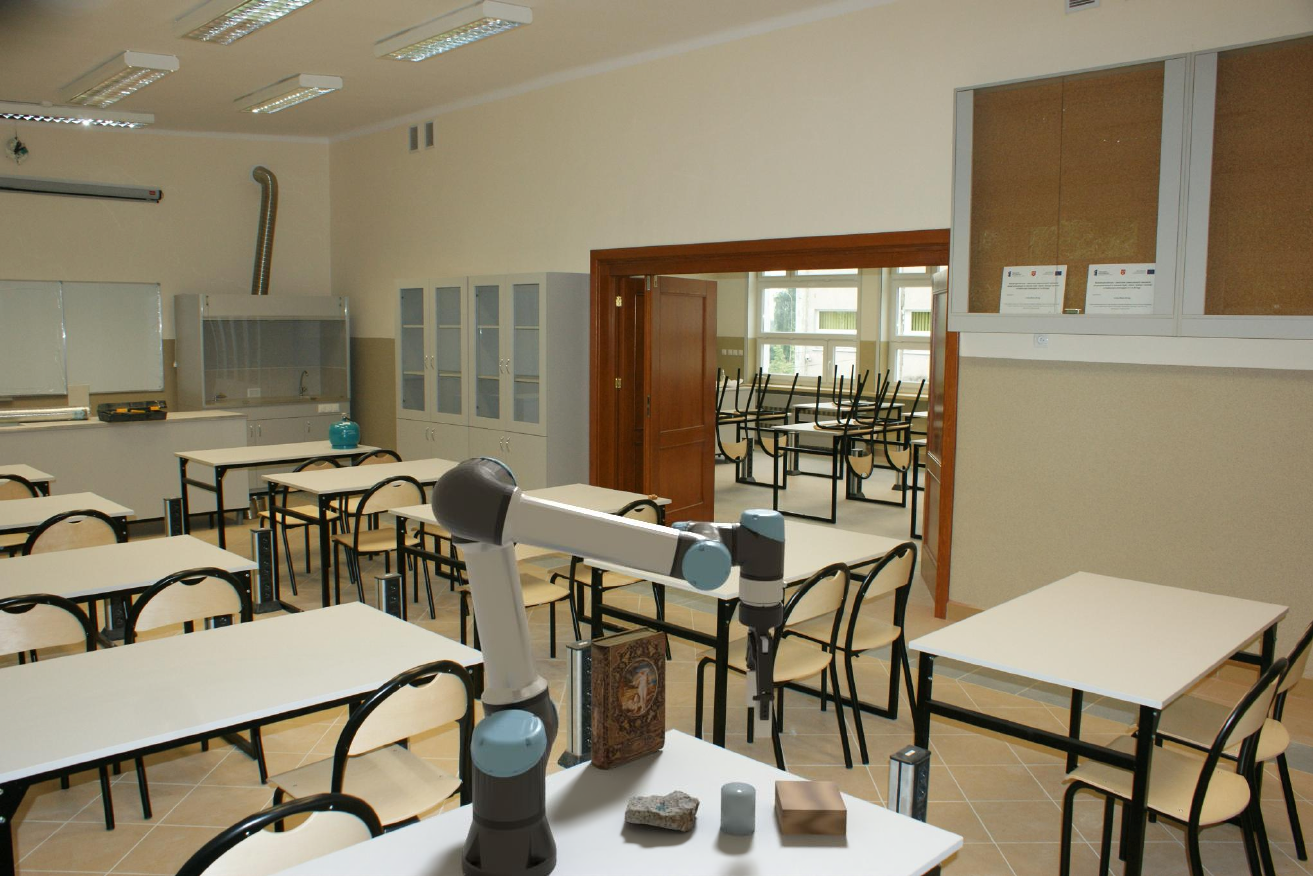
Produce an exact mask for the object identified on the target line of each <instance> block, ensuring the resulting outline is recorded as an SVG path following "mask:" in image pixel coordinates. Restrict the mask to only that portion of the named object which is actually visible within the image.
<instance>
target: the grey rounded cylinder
mask: <svg viewBox="0 0 1313 876" xmlns="http://www.w3.org/2000/svg"><path fill="white" fill-rule="evenodd" d="M756 791H757V789H756V788H755V786H753V785H751V784H750V783H747V782H746V783H745V782H739V781H734V782H732V781H731V782H728V783H725V784H724V785H722V786H721V788H720V830H721V831H722V832H723V833H725V834H727V835H731V836H734V835H735V836H736V837H737V836H738V837H744V836H747V835H749V836H750V835H751V834H752V833H754V831H755V830H756V800H757V799H756V797H757V796H756V794H757V793H756Z"/></svg>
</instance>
